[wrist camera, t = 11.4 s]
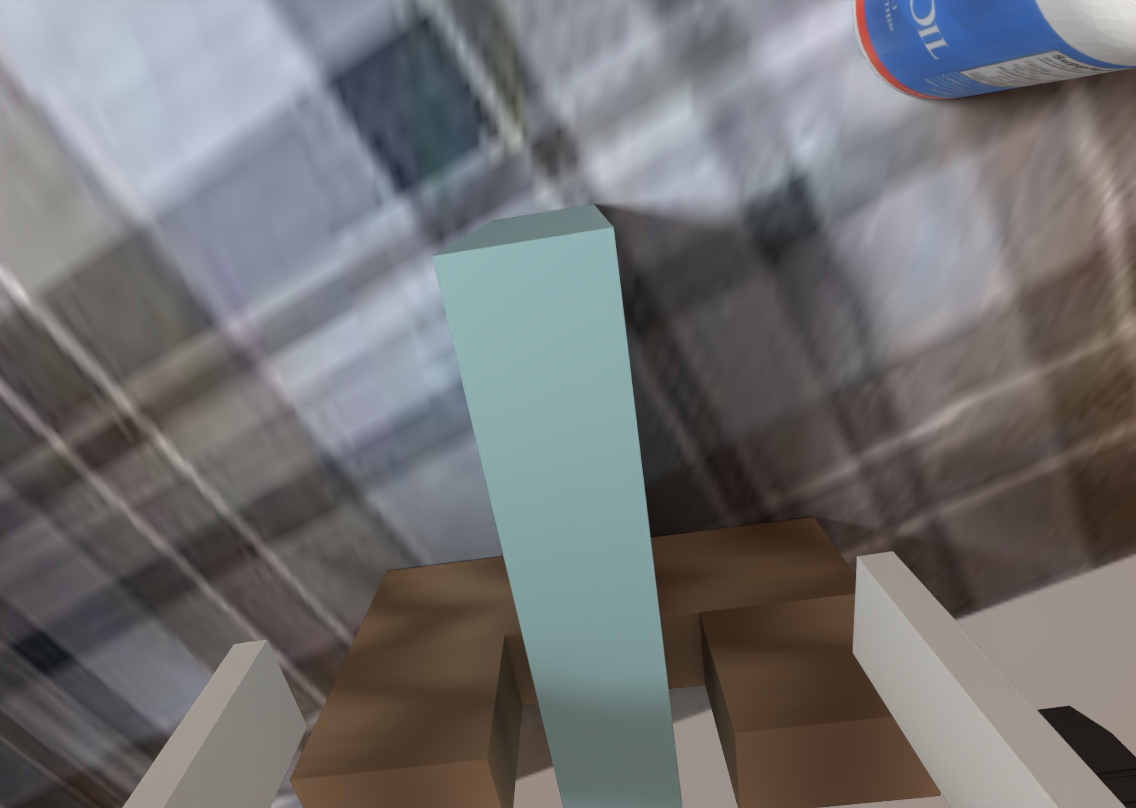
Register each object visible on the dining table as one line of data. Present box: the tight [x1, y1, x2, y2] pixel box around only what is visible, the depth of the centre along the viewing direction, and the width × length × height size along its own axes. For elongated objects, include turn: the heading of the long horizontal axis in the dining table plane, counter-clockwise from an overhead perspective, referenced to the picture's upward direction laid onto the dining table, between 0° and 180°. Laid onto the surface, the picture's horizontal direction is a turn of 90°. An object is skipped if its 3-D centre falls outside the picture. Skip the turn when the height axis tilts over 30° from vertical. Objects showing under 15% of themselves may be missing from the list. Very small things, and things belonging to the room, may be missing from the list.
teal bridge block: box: [432, 204, 682, 808], centre depth 16 cm, size 3×18×8 cm, turn 9°
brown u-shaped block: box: [290, 517, 941, 808], centre depth 18 cm, size 16×3×8 cm, turn 99°
